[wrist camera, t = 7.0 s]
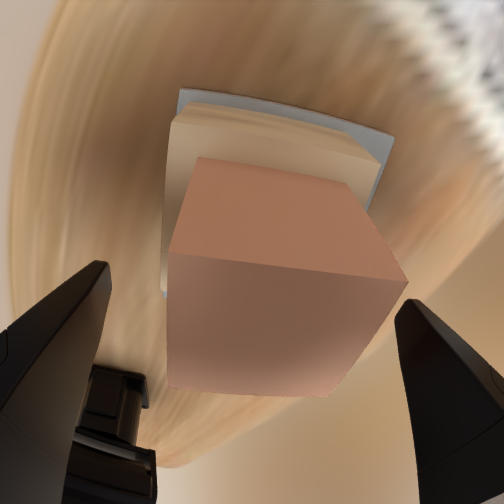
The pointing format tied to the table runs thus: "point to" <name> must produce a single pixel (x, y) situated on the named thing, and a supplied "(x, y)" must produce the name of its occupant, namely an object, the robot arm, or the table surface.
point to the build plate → (365, 136)
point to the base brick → (256, 154)
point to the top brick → (272, 282)
